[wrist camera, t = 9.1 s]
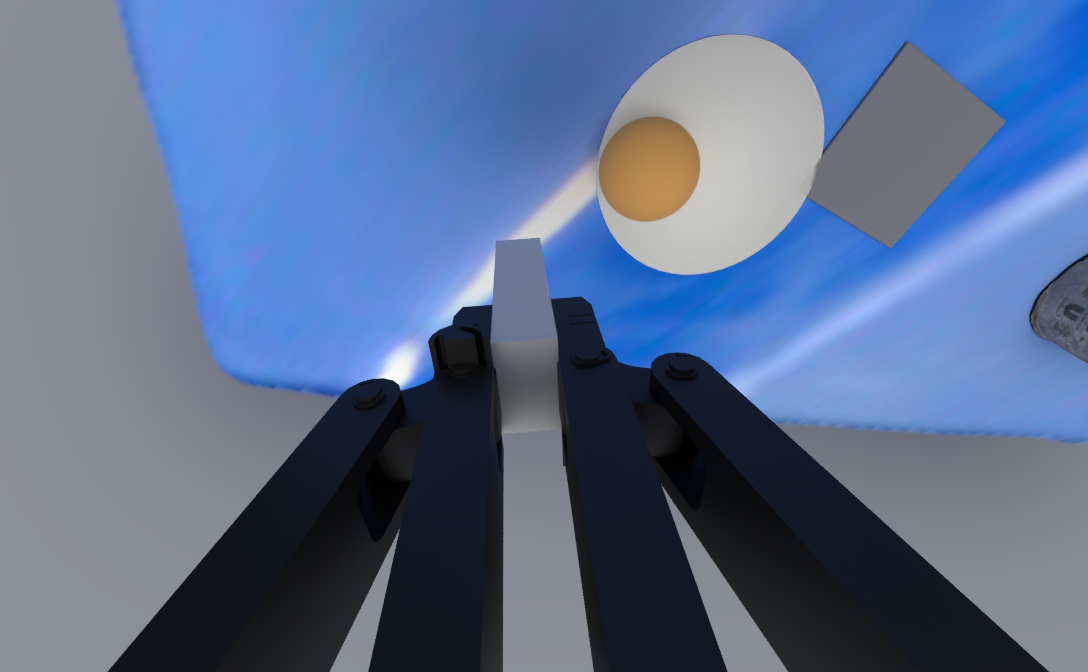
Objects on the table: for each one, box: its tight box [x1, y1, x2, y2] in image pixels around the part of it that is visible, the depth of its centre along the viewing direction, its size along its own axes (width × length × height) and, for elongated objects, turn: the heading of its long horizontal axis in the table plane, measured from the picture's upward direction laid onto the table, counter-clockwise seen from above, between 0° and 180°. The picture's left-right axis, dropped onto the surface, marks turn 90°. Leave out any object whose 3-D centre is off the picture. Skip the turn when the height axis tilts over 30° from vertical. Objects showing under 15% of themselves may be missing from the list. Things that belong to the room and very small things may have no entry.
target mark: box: [596, 34, 824, 275], centre depth 28 cm, size 14×14×1 cm
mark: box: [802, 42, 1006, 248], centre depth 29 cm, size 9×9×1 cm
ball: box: [599, 116, 700, 222], centre depth 26 cm, size 6×6×6 cm
